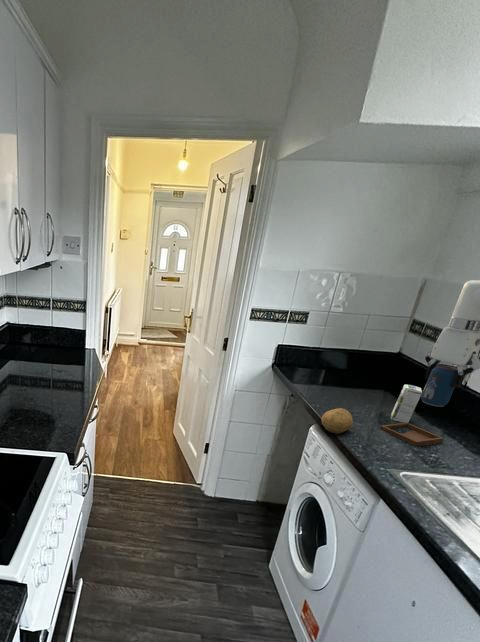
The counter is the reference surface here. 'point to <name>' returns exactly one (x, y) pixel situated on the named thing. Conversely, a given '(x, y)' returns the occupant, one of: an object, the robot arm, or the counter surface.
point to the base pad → (413, 435)
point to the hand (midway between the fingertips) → (441, 382)
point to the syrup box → (406, 403)
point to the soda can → (439, 385)
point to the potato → (337, 420)
